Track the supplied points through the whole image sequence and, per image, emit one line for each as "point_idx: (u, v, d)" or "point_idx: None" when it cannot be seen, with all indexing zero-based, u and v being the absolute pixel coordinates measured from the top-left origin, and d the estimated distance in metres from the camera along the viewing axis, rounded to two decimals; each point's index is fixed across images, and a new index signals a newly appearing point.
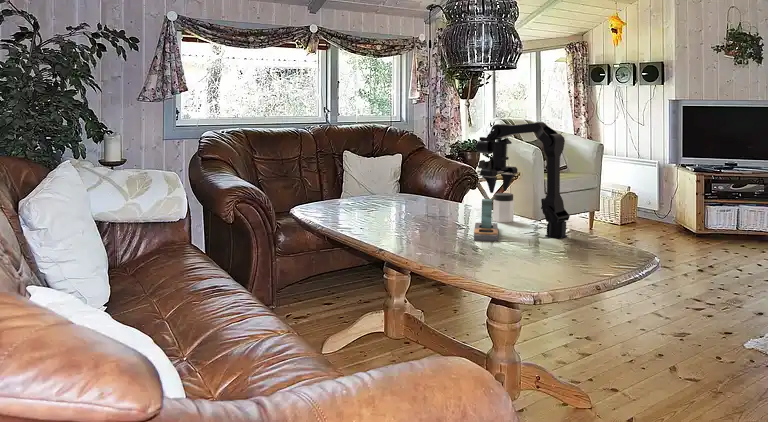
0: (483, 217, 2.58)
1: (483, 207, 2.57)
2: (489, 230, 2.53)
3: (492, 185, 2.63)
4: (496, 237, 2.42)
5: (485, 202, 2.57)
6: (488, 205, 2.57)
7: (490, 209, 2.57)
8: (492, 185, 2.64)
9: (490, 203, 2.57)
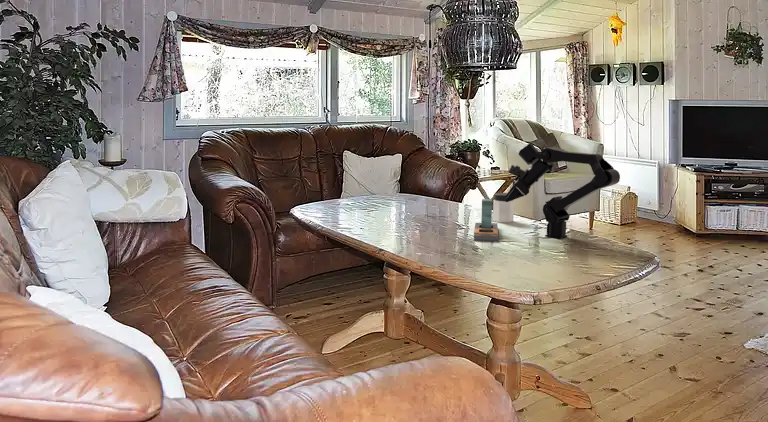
0: (483, 217, 2.58)
1: (483, 207, 2.57)
2: (489, 230, 2.53)
3: (514, 198, 2.51)
4: (496, 237, 2.42)
5: (485, 202, 2.57)
6: (488, 205, 2.57)
7: (490, 209, 2.57)
8: (513, 197, 2.51)
9: (490, 203, 2.57)
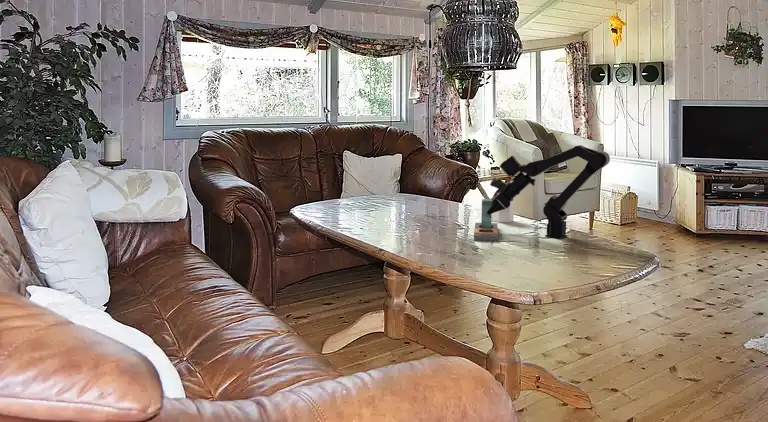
0: (483, 217, 2.58)
1: (483, 207, 2.57)
2: (489, 230, 2.53)
3: (495, 210, 2.53)
4: (496, 237, 2.42)
5: (485, 202, 2.57)
6: (488, 205, 2.57)
7: None
8: (495, 210, 2.53)
9: (490, 203, 2.57)
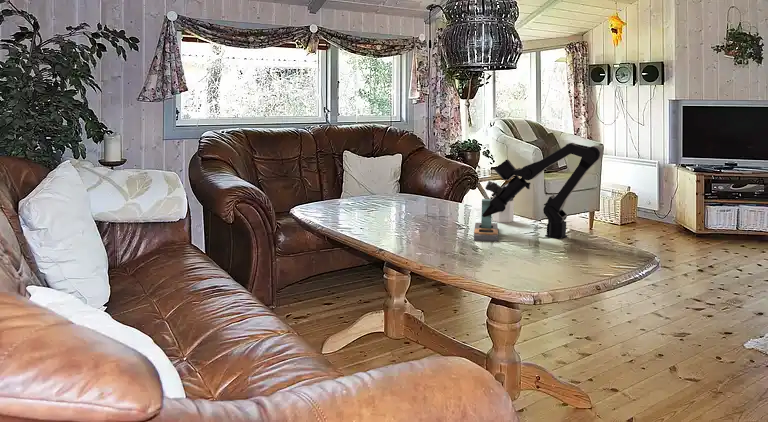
0: (483, 217, 2.58)
1: (483, 207, 2.57)
2: (489, 230, 2.53)
3: (491, 213, 2.56)
4: (496, 237, 2.42)
5: (485, 202, 2.57)
6: (488, 205, 2.57)
7: None
8: (490, 212, 2.56)
9: None
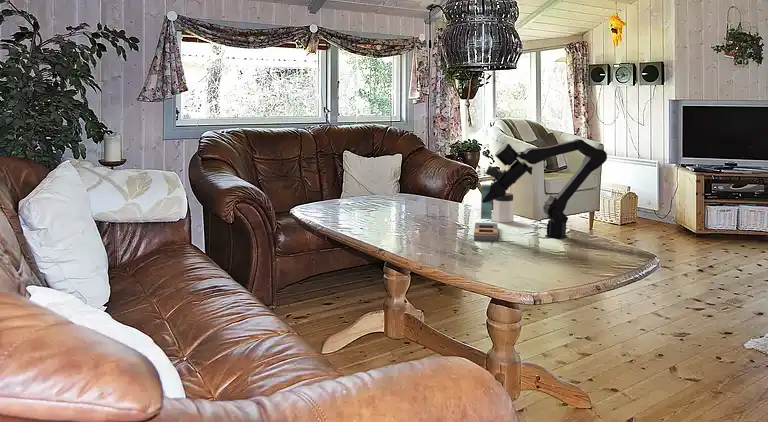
0: (483, 203, 2.49)
1: (483, 193, 2.48)
2: (489, 230, 2.53)
3: (491, 199, 2.47)
4: (496, 237, 2.42)
5: (485, 187, 2.48)
6: (488, 190, 2.48)
7: None
8: (490, 198, 2.47)
9: None
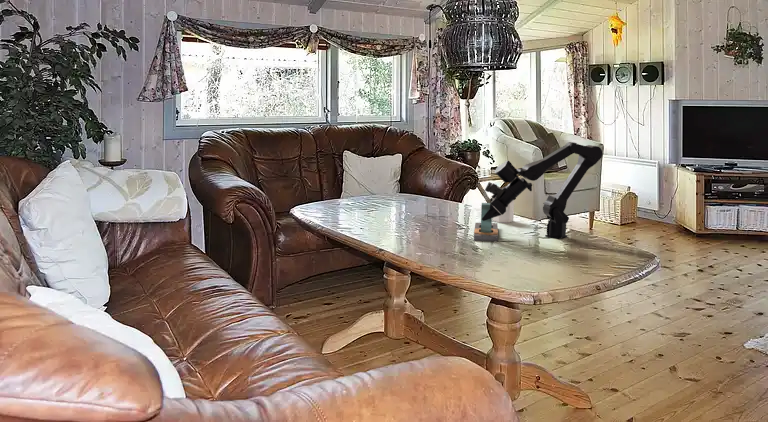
0: (483, 222, 2.48)
1: (483, 211, 2.48)
2: None
3: (491, 217, 2.44)
4: (496, 237, 2.42)
5: (485, 206, 2.47)
6: (488, 209, 2.47)
7: None
8: (490, 216, 2.44)
9: None
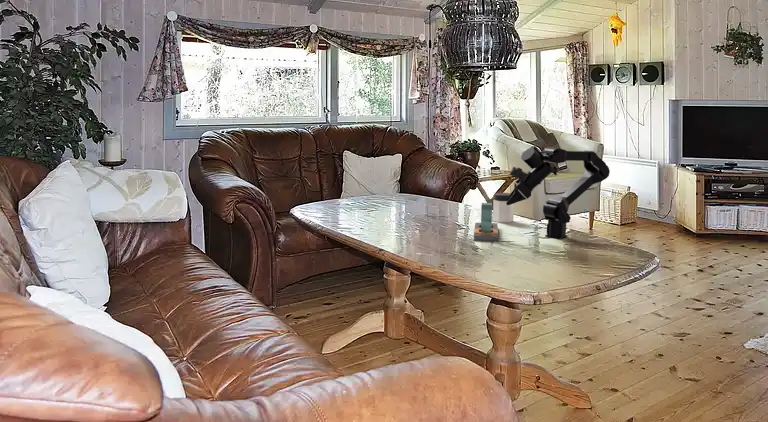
0: (483, 222, 2.48)
1: (483, 211, 2.48)
2: None
3: (515, 201, 2.41)
4: (496, 237, 2.42)
5: (485, 206, 2.47)
6: (488, 209, 2.47)
7: (490, 213, 2.47)
8: (515, 200, 2.41)
9: (490, 207, 2.47)
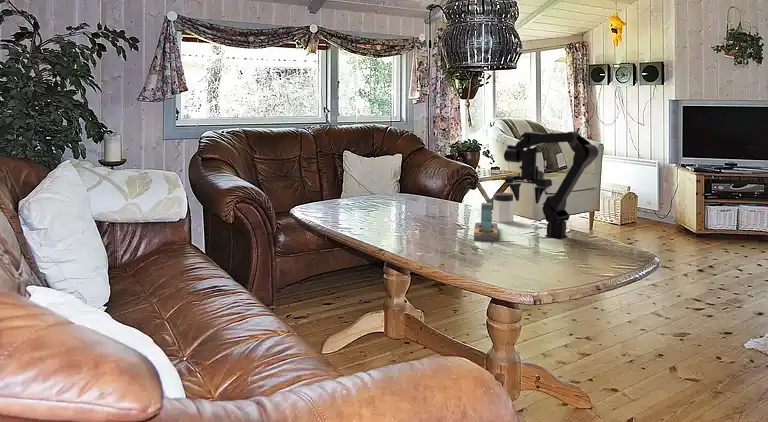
0: (483, 222, 2.48)
1: (483, 211, 2.48)
2: None
3: None
4: (496, 237, 2.42)
5: (485, 206, 2.47)
6: (488, 209, 2.47)
7: (490, 213, 2.47)
8: None
9: (490, 207, 2.47)
